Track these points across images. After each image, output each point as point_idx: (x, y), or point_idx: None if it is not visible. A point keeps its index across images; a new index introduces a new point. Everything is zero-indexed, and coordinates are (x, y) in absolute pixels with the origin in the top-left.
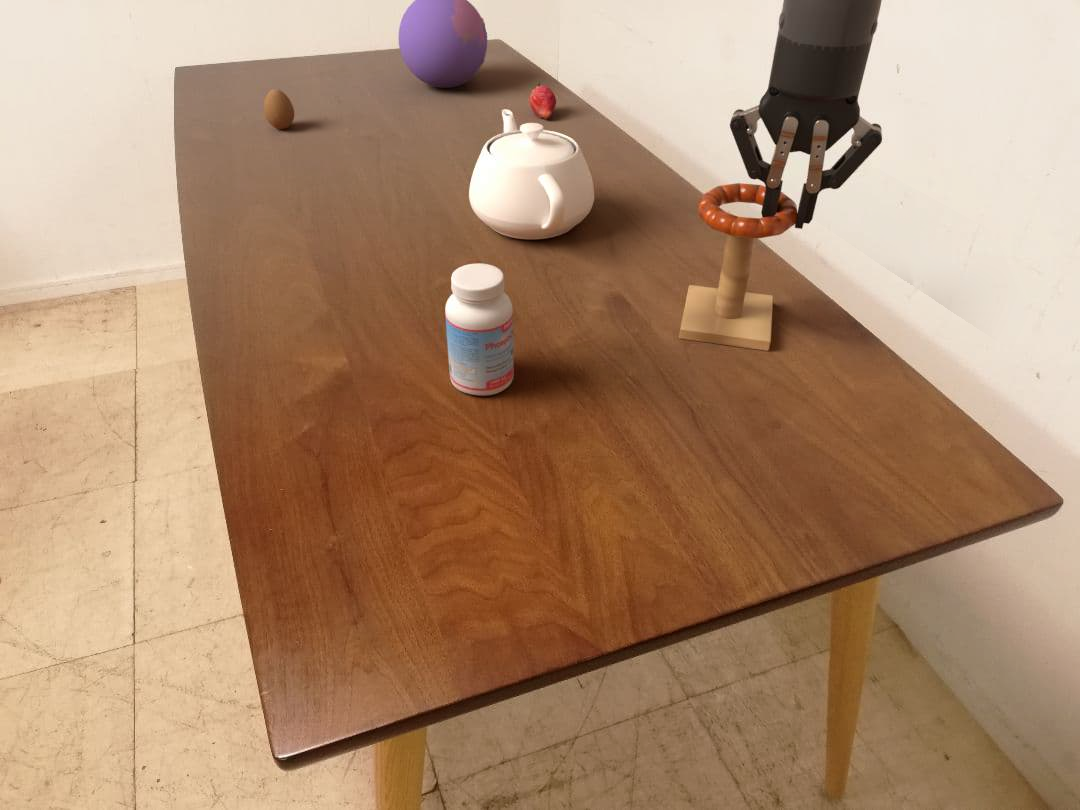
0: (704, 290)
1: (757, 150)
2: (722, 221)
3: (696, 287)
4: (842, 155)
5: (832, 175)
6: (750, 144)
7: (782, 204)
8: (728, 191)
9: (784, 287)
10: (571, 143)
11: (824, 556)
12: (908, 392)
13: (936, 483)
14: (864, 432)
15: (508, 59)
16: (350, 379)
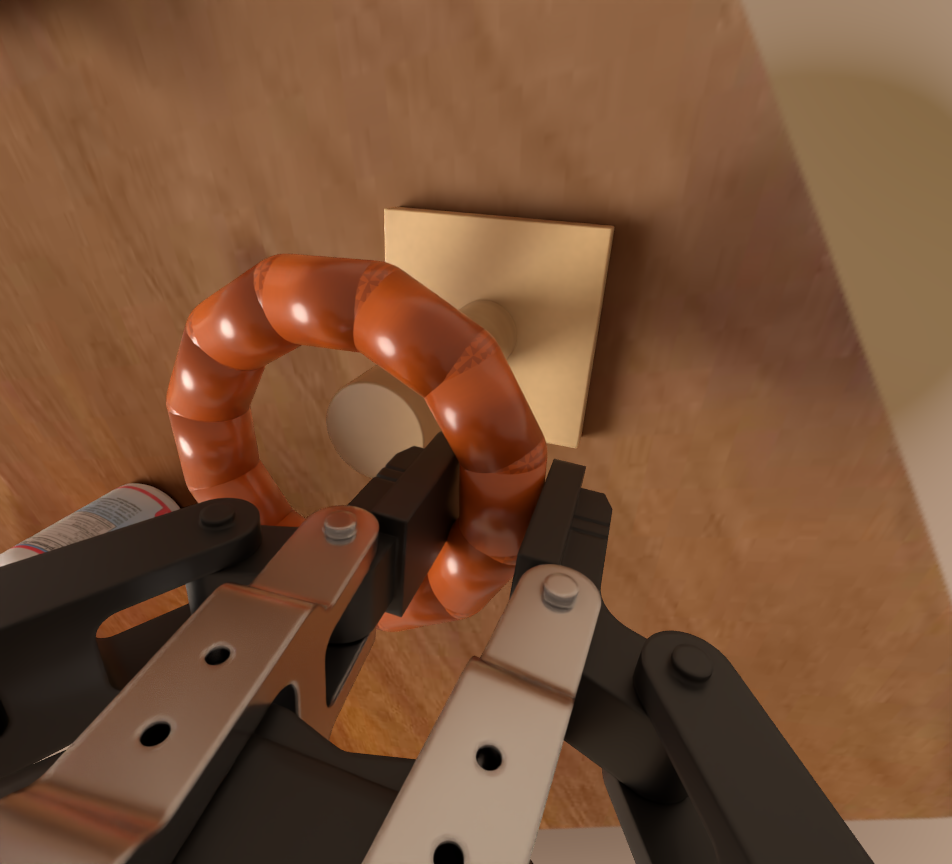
0: (423, 235)
1: (142, 595)
2: None
3: (402, 222)
4: (718, 800)
5: (616, 803)
6: (55, 747)
7: (465, 494)
8: (242, 362)
9: (677, 97)
10: None
11: (598, 811)
12: (877, 566)
13: (808, 756)
14: (724, 655)
15: None
16: (33, 516)
